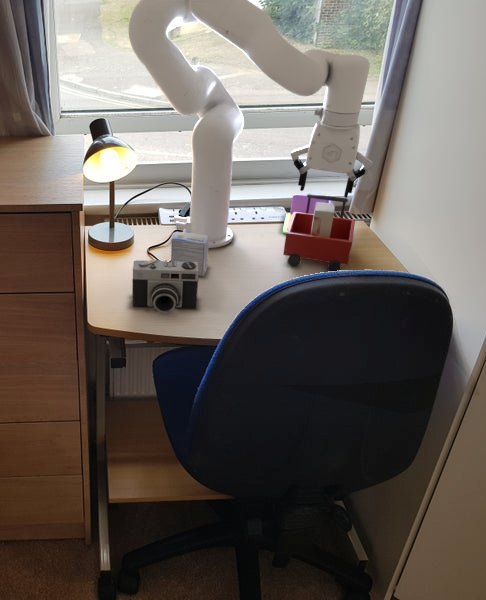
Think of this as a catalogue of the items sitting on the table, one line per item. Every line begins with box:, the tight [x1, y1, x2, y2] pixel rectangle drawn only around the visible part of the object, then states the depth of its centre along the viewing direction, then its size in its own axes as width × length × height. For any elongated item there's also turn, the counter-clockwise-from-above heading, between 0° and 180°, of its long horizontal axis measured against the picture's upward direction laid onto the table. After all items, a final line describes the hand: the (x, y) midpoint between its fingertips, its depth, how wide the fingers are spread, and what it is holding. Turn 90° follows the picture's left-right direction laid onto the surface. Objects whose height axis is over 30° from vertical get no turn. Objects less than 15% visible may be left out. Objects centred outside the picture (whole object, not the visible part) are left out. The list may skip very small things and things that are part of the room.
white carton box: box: [311, 202, 336, 238], centre depth 148 cm, size 5×4×10 cm
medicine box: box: [170, 231, 209, 277], centre depth 145 cm, size 8×4×9 cm, turn 71°
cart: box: [282, 193, 356, 272], centre depth 149 cm, size 14×14×13 cm
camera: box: [131, 259, 199, 314], centre depth 132 cm, size 14×9×10 cm, turn 77°
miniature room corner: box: [282, 193, 333, 235], centre depth 163 cm, size 12×12×7 cm
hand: (323, 191), depth 144 cm, fingers open, 9 cm apart
